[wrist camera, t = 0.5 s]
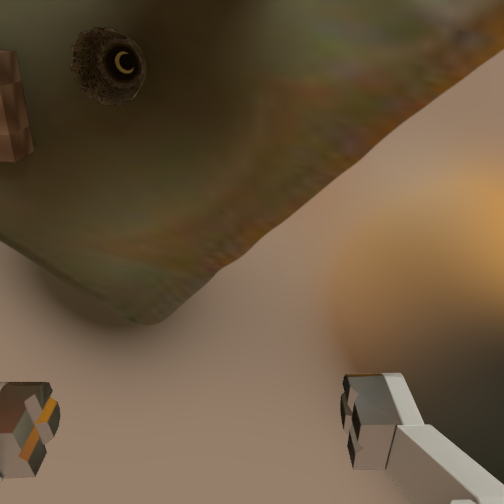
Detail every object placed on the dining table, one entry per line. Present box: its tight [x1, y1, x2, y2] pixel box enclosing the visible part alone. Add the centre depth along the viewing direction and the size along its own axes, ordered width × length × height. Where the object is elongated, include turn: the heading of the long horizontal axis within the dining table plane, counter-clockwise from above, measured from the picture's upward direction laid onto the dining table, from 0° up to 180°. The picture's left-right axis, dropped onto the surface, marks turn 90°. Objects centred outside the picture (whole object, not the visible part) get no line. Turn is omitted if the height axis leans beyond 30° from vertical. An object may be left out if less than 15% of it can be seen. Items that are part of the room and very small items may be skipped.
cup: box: [70, 27, 147, 106], centre depth 44 cm, size 8×7×8 cm
